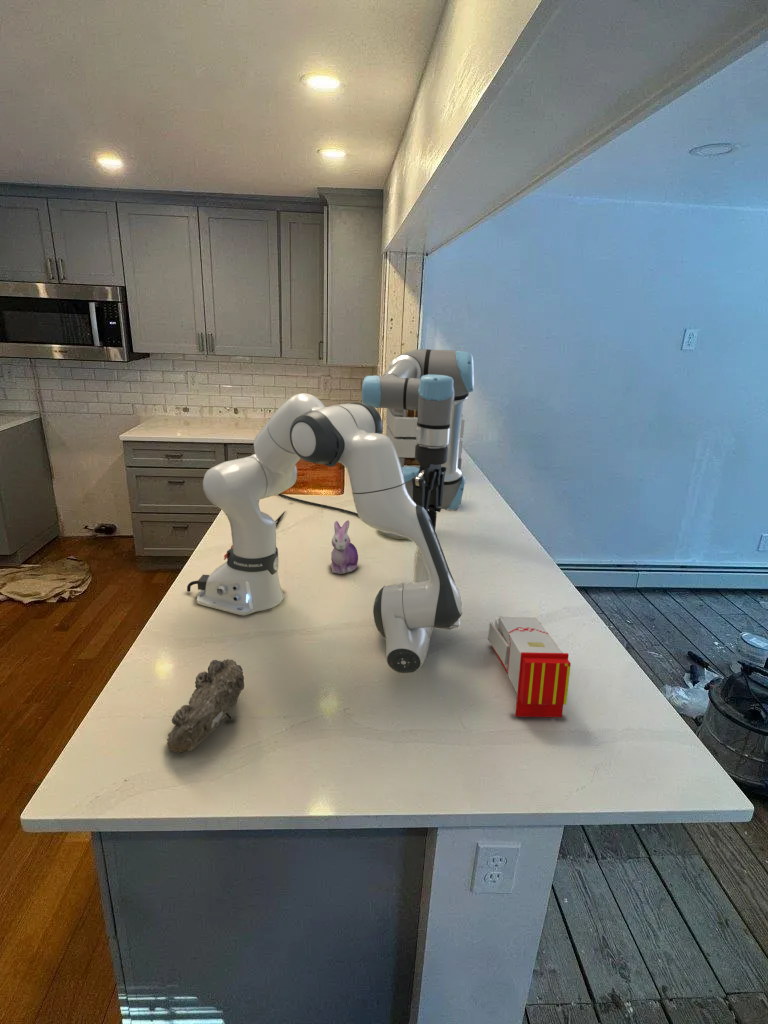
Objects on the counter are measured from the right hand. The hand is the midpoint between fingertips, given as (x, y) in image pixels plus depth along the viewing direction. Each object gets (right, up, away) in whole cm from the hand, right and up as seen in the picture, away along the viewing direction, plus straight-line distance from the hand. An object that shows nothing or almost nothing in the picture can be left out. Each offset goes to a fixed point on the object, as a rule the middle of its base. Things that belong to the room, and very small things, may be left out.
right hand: (425, 539), depth 137 cm
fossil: (-43, -33, -29) cm, 61 cm away
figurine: (-22, -11, +34) cm, 42 cm away
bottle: (-1, -21, +8) cm, 23 cm away
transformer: (+7, +25, +138) cm, 140 cm away
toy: (+20, -29, -13) cm, 38 cm away
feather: (-48, +5, +75) cm, 89 cm away
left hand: (-1, -15, +6) cm, 16 cm away
